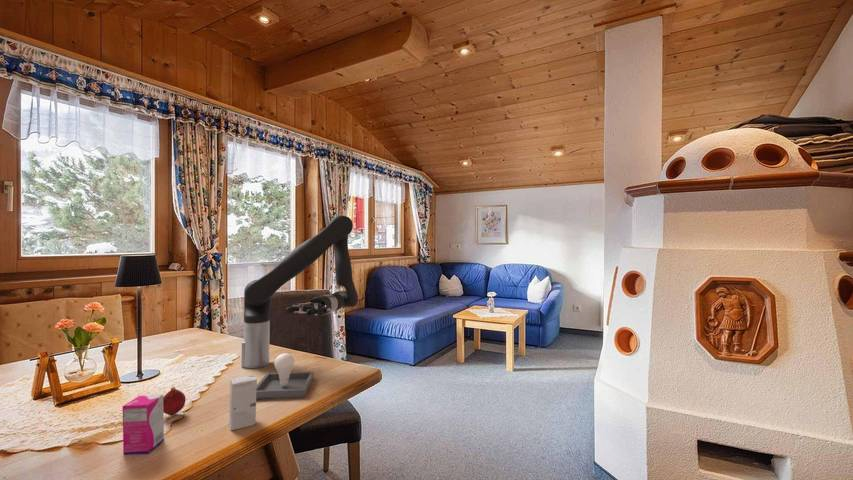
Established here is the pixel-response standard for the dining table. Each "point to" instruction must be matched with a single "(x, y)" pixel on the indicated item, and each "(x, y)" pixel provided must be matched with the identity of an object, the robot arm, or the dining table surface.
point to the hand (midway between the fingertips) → (297, 312)
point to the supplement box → (143, 424)
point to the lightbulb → (284, 367)
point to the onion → (173, 402)
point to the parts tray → (294, 389)
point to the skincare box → (242, 402)
